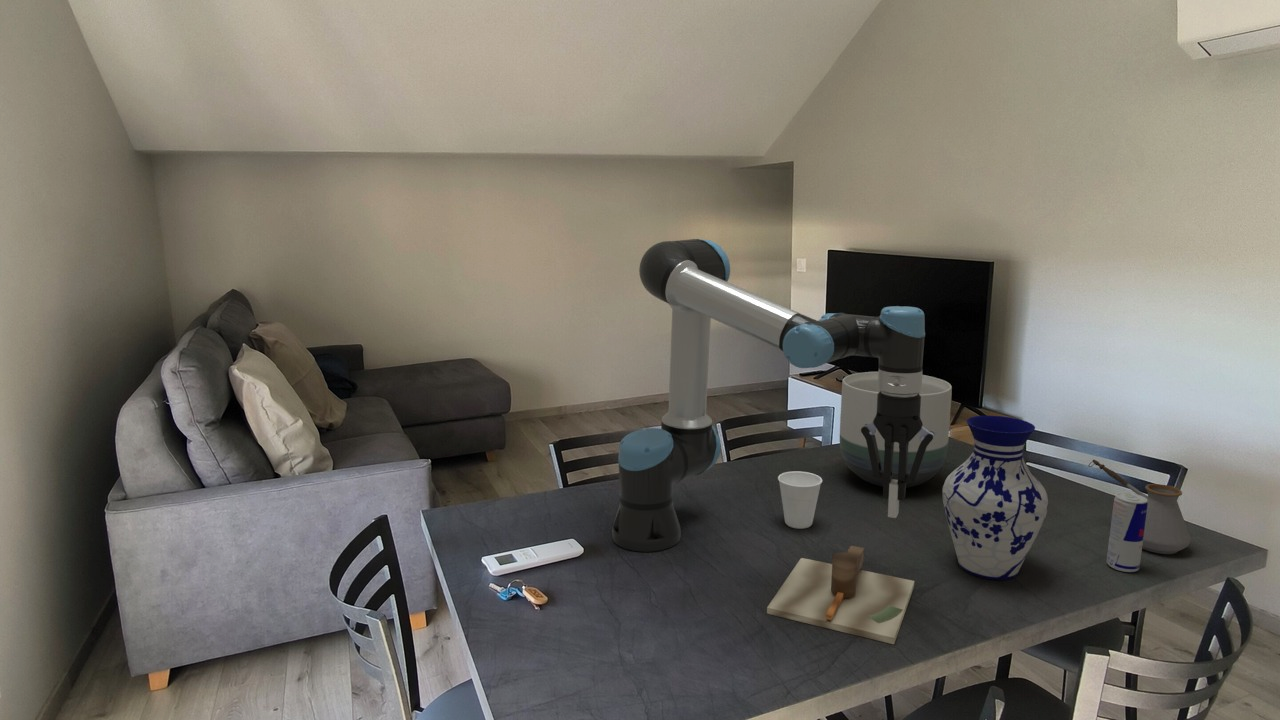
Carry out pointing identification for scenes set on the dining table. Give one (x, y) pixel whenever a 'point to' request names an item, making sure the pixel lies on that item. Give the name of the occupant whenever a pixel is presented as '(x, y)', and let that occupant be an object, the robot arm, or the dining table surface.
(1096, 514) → the dining table surface
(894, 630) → the cream flat square slab
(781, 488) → the cup
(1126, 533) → the beverage can
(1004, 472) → the vase
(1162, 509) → the coffee pot
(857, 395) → the planter
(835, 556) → the wooden mallet
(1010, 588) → the dining table surface
